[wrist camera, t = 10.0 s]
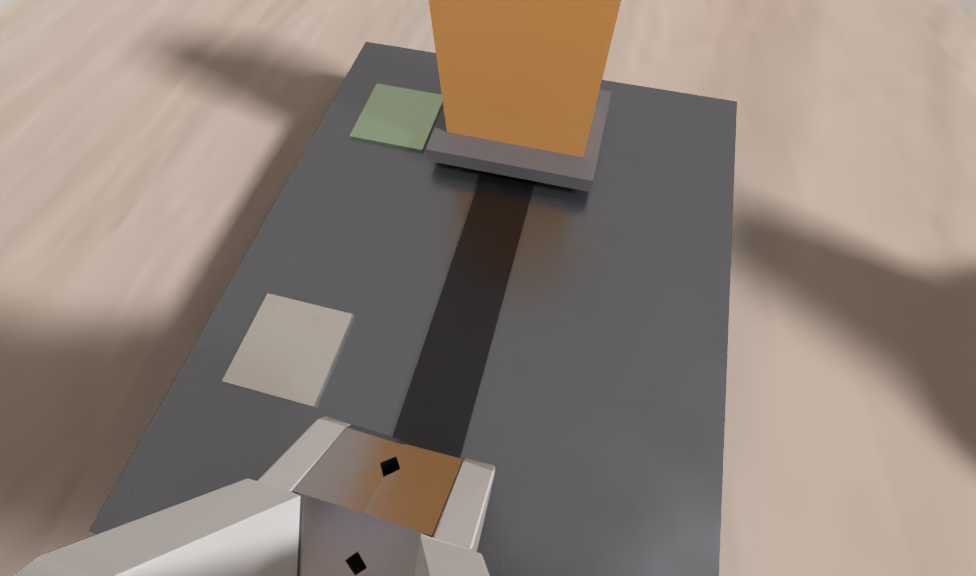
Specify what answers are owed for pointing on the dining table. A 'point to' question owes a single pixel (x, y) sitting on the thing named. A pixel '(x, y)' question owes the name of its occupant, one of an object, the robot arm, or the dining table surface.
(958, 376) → the dining table surface
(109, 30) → the dining table surface
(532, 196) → the grey slotted base
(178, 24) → the dining table surface
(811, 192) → the dining table surface
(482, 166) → the handle
